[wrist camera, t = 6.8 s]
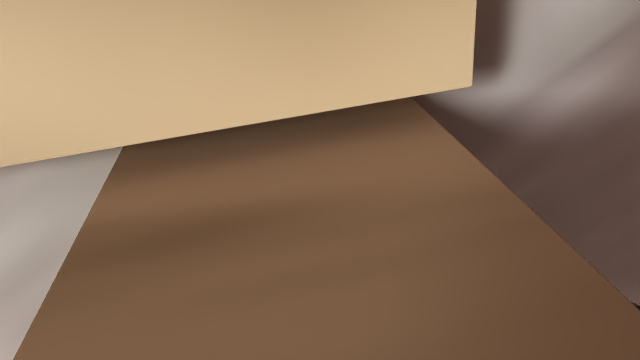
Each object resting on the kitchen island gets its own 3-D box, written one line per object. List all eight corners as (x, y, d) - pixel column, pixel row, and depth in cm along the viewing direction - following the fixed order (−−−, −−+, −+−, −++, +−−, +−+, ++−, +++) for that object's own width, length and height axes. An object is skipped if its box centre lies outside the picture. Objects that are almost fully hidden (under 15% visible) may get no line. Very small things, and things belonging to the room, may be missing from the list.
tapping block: (410, 293, 11) (574, 630, 6) (198, 337, 10) (162, 749, 5) (405, 91, 8) (692, 360, 3) (127, 139, 8) (-85, 546, 3)
